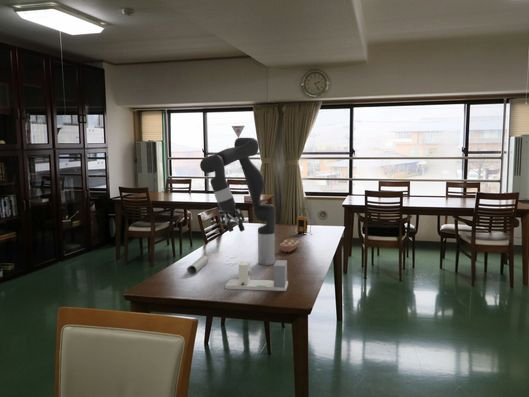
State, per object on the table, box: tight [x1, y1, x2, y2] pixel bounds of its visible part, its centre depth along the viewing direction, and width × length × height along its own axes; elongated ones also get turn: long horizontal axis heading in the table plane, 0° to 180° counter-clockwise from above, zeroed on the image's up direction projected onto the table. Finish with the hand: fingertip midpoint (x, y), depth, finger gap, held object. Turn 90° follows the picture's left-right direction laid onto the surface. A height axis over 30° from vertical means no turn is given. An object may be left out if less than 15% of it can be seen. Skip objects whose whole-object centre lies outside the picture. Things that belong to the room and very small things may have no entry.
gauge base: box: [224, 259, 289, 292], centre depth 206 cm, size 10×28×12 cm, turn 81°
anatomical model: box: [279, 238, 300, 253], centre depth 281 cm, size 23×10×5 cm, turn 165°
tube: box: [186, 255, 209, 276], centre depth 239 cm, size 5×5×25 cm
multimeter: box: [292, 207, 312, 234], centre depth 333 cm, size 15×10×20 cm
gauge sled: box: [238, 261, 253, 285], centre depth 206 cm, size 8×5×9 cm, turn 171°
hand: (237, 231), depth 203 cm, fingers open, 8 cm apart
